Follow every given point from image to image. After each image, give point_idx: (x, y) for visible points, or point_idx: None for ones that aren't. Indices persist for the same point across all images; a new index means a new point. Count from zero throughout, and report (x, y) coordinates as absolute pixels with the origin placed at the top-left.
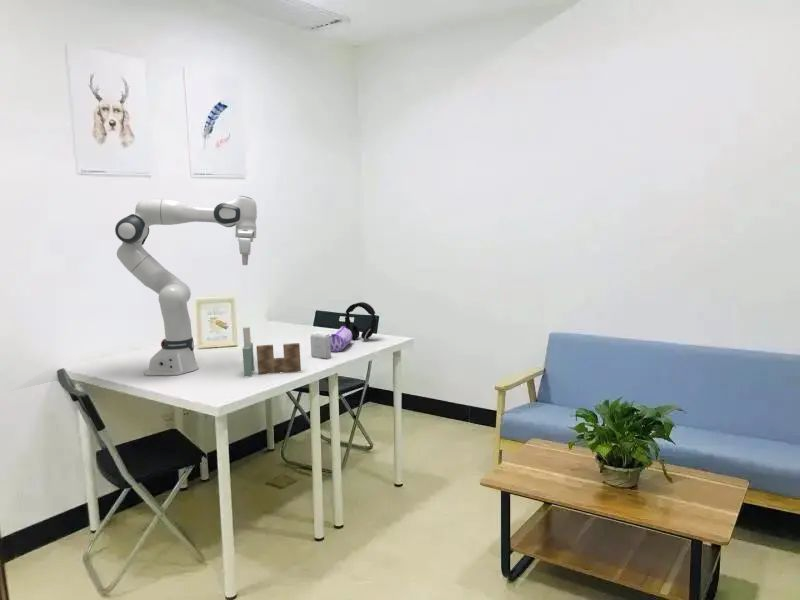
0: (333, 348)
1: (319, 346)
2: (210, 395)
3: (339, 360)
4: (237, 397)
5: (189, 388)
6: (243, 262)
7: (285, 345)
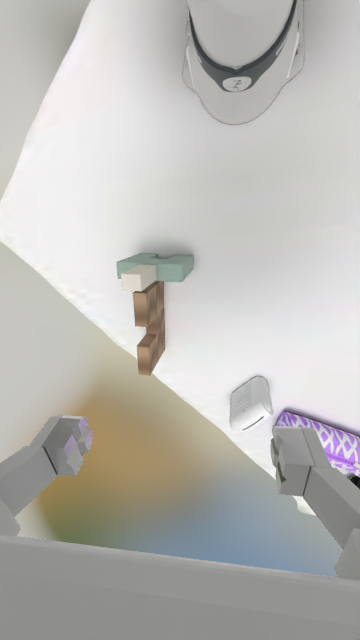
0: (281, 418)
1: (239, 401)
2: (35, 205)
3: (212, 409)
4: (27, 252)
5: (76, 150)
6: (43, 440)
7: (137, 349)
